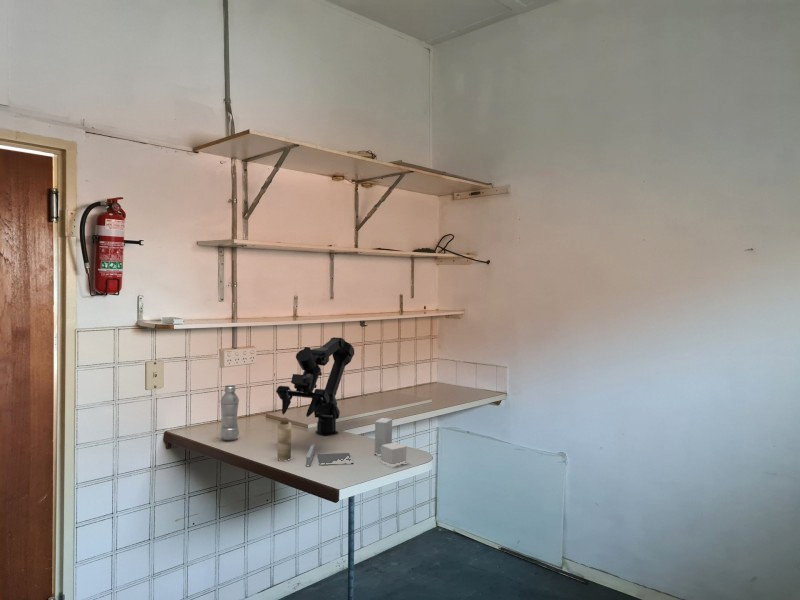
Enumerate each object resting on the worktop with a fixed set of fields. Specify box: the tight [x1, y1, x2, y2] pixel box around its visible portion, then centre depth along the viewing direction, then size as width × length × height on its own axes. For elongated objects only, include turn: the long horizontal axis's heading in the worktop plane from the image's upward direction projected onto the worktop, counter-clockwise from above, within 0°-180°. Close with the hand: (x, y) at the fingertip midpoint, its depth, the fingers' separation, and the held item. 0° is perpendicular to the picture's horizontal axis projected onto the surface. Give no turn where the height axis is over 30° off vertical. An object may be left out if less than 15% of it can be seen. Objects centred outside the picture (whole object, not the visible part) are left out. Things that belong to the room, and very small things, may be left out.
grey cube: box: [380, 442, 407, 464], centre depth 194 cm, size 6×6×6 cm
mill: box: [276, 417, 292, 461], centre depth 195 cm, size 4×4×14 cm
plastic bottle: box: [219, 384, 240, 441], centre depth 216 cm, size 6×7×20 cm
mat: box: [316, 452, 352, 465], centre depth 196 cm, size 11×11×1 cm
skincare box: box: [374, 417, 393, 454], centre depth 203 cm, size 6×4×12 cm
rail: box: [305, 444, 316, 466], centre depth 195 cm, size 14×1×3 cm, turn 2°
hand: (294, 415), depth 202 cm, fingers open, 9 cm apart
